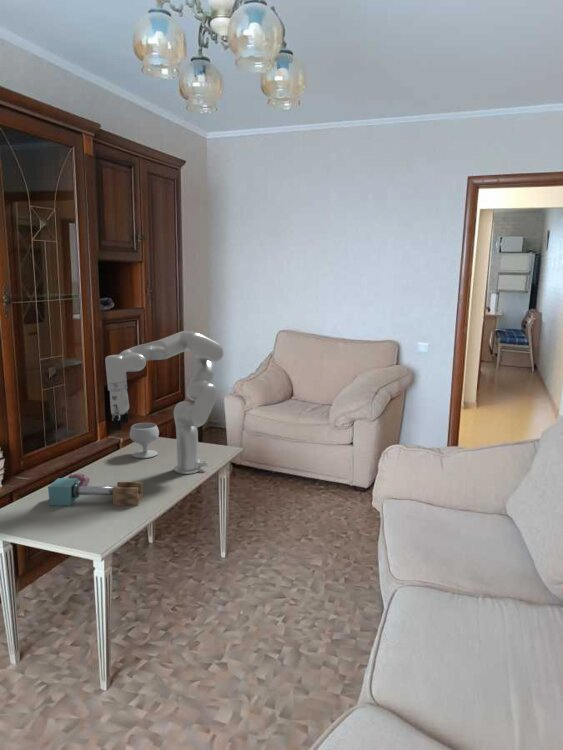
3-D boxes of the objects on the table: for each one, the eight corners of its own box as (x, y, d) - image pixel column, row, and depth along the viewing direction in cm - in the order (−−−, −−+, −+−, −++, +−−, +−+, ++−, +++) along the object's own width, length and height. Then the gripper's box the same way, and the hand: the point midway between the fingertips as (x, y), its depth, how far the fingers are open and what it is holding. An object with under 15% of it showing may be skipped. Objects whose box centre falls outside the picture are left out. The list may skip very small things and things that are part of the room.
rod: (122, 494, 215) (121, 481, 214) (117, 500, 210) (116, 487, 209) (58, 494, 216) (57, 481, 215) (52, 499, 210) (51, 486, 209)
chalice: (165, 452, 271) (164, 423, 269) (148, 461, 259) (146, 430, 256) (142, 449, 277) (141, 420, 274) (124, 457, 264) (123, 427, 262)
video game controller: (88, 492, 226) (92, 475, 228) (81, 491, 222) (85, 474, 224) (68, 489, 229) (72, 472, 231) (61, 488, 225) (65, 471, 227)
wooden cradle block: (142, 498, 216) (142, 482, 215) (138, 505, 209) (137, 488, 208) (119, 497, 216) (118, 481, 215) (113, 505, 209) (112, 488, 208)
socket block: (79, 496, 217) (78, 478, 216) (70, 505, 209) (68, 487, 207) (59, 496, 218) (58, 478, 216) (49, 505, 209) (48, 486, 207)
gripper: (120, 390, 210) (124, 432, 214) (132, 380, 227) (136, 419, 231) (100, 390, 211) (105, 432, 214) (114, 381, 227) (118, 420, 231)
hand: (121, 426), depth 222 cm, fingers open, 9 cm apart
